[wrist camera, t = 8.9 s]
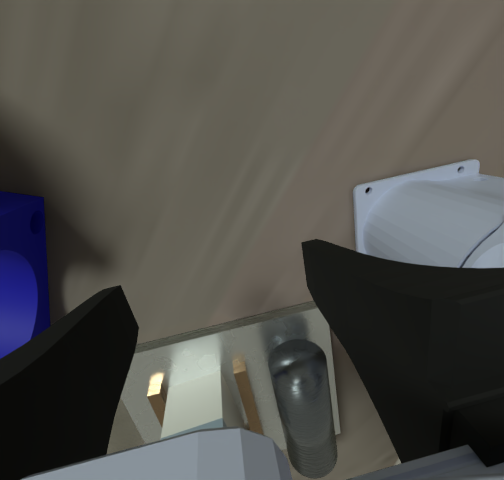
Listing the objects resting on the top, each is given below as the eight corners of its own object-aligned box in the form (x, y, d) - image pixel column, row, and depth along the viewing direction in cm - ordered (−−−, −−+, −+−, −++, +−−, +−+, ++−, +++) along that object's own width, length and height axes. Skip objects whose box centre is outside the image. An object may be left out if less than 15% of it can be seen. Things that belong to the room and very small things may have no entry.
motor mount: (322, 298, 24) (352, 344, 19) (336, 423, 30) (361, 483, 25) (106, 352, 23) (77, 415, 18) (167, 470, 29) (158, 542, 24)
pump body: (220, 370, 24) (223, 428, 19) (244, 423, 26) (251, 485, 22) (168, 387, 24) (158, 450, 19) (197, 438, 26) (195, 504, 22)
